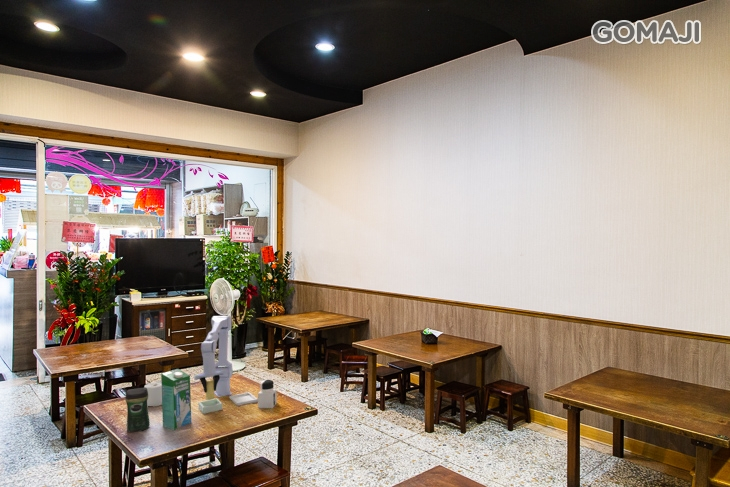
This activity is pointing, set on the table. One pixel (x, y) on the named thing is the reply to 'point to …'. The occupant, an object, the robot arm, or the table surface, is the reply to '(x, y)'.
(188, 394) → the milk carton
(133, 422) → the coffee jar
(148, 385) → the toilet tissue
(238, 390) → the table surface
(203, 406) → the square storage bin
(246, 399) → the tray
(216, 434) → the table surface
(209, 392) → the peg
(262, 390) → the container
